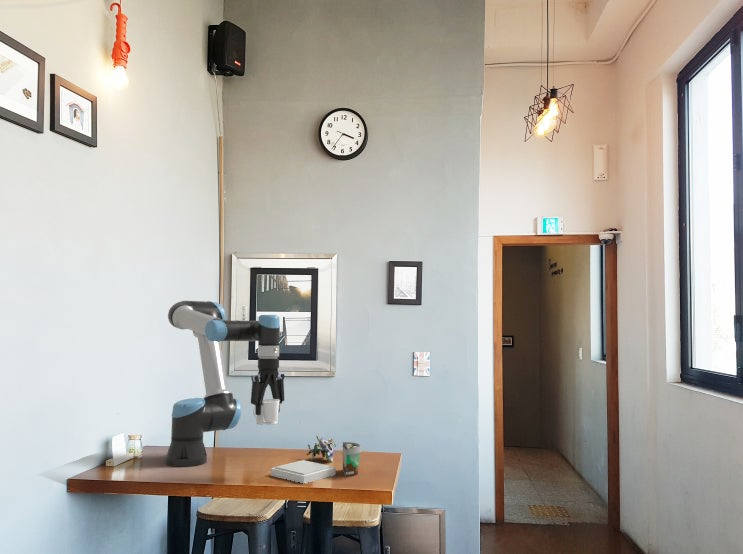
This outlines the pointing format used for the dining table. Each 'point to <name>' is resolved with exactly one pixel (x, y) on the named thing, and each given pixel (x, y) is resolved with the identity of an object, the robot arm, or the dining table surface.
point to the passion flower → (323, 449)
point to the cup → (269, 411)
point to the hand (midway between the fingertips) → (267, 423)
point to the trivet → (303, 471)
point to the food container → (351, 458)
